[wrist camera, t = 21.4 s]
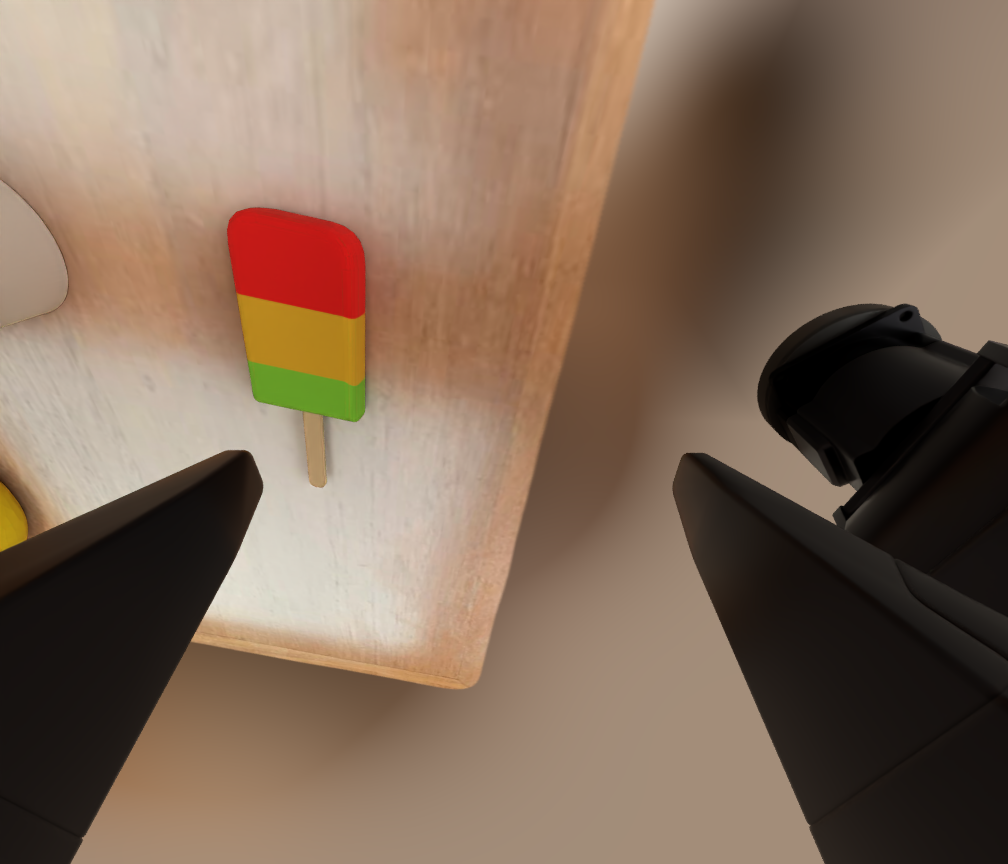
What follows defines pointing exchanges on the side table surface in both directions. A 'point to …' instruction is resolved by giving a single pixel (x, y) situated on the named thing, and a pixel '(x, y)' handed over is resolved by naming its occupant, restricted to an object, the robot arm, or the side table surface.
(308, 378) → the popsicle
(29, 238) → the coffee cup
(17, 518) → the donut
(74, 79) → the side table surface
